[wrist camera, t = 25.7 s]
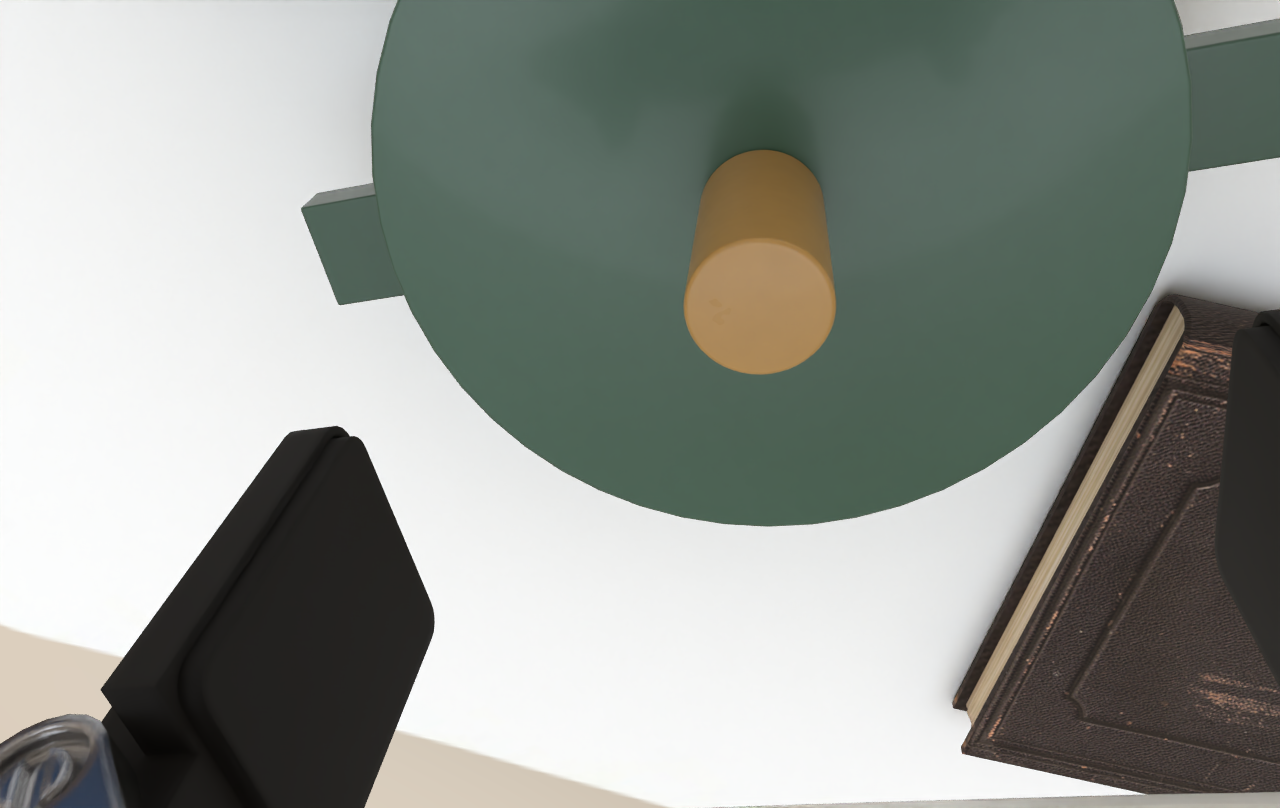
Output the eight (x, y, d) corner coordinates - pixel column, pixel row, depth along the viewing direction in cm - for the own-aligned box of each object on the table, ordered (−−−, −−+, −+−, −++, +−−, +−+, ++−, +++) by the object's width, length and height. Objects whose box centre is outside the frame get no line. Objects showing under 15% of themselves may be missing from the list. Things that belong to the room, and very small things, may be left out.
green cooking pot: (290, -116, 24) (161, -90, 19) (1220, -350, 20) (1371, -393, 15) (470, 412, 31) (412, 533, 26) (1183, 318, 27) (1276, 441, 22)
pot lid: (273, -146, 19) (99, -122, 14) (1194, -384, 16) (1383, -458, 11) (505, 527, 26) (445, 695, 22) (1156, 458, 23) (1258, 636, 18)
